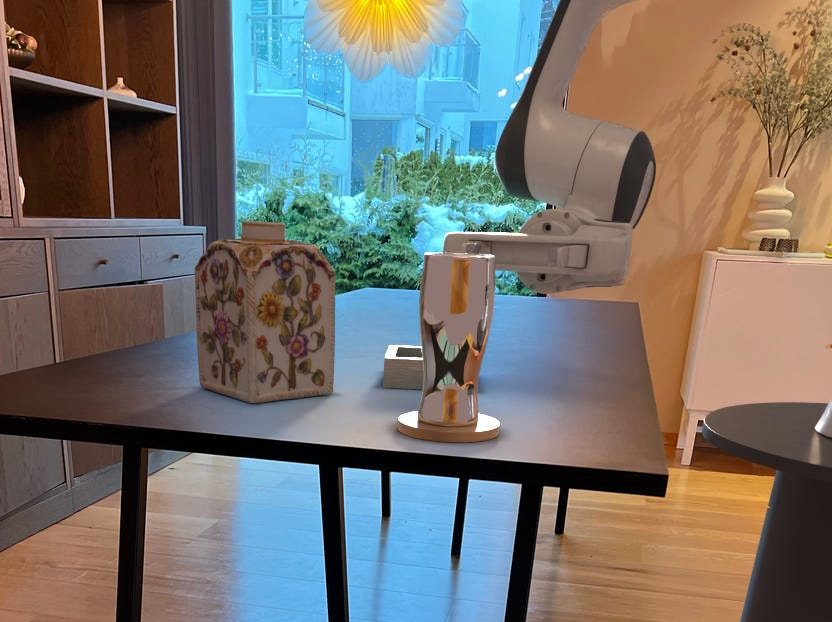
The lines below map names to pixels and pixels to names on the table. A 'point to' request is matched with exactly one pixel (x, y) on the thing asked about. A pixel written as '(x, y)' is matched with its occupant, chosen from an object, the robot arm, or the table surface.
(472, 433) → the disc
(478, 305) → the beer glass
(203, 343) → the decorative jar
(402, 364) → the box
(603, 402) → the table surface
